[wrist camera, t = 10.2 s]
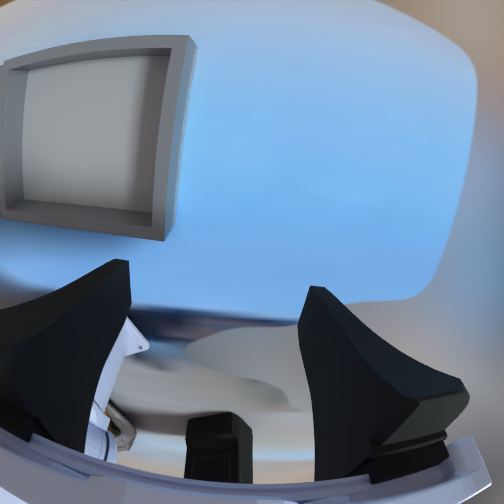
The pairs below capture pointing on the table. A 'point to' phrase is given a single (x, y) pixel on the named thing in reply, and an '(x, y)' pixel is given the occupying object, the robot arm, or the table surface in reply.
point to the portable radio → (219, 449)
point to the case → (96, 134)
